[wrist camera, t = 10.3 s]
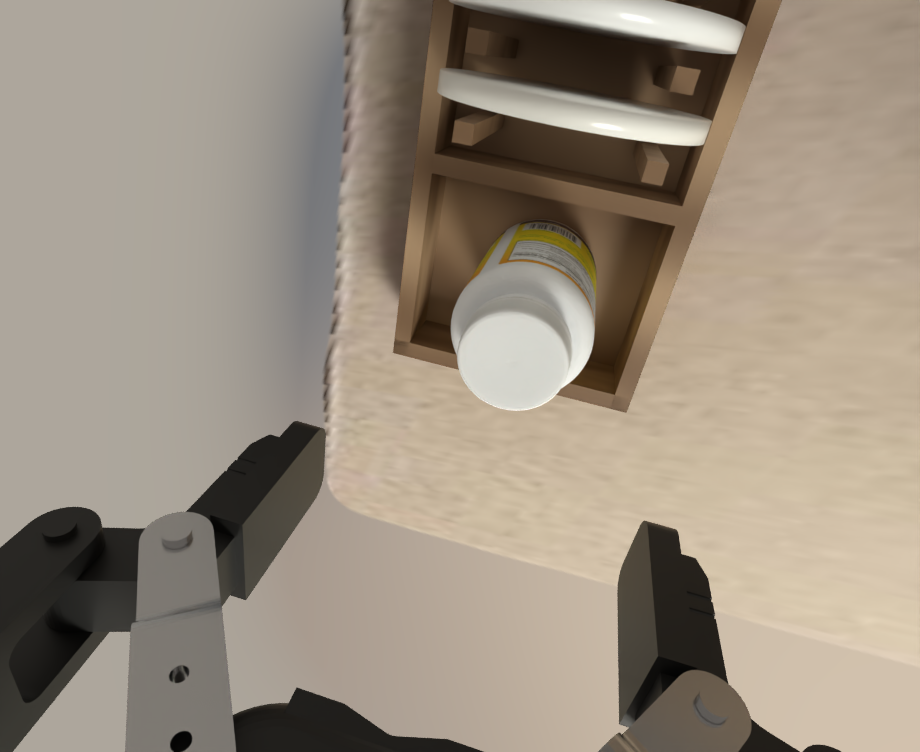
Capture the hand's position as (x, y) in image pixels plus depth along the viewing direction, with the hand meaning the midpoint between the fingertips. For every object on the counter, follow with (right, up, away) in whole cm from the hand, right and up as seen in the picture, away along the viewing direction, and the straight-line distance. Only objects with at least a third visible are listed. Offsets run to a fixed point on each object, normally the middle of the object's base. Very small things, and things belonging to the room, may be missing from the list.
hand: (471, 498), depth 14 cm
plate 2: (+5, +16, +11) cm, 20 cm away
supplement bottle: (+4, +8, +15) cm, 17 cm away
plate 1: (+5, +18, +10) cm, 21 cm away
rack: (+4, +13, +13) cm, 19 cm away
